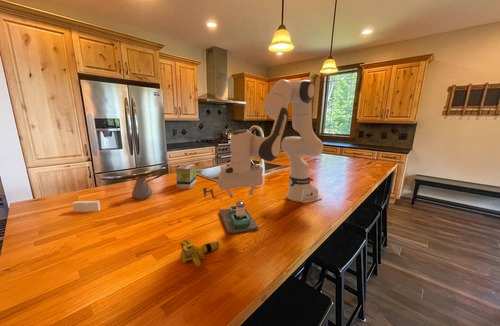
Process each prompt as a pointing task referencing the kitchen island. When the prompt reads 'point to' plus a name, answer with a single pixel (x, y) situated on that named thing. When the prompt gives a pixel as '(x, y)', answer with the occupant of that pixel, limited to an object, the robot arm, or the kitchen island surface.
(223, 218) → the manifold plate
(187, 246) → the sprinkler
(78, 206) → the white rectangular block
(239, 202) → the fitting
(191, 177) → the tea box
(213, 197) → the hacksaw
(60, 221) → the kitchen island surface
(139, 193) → the coffee pot
